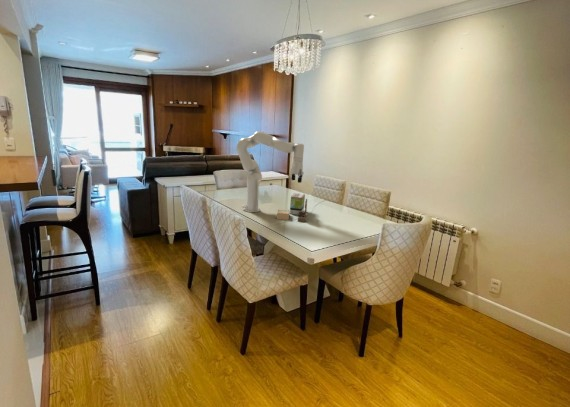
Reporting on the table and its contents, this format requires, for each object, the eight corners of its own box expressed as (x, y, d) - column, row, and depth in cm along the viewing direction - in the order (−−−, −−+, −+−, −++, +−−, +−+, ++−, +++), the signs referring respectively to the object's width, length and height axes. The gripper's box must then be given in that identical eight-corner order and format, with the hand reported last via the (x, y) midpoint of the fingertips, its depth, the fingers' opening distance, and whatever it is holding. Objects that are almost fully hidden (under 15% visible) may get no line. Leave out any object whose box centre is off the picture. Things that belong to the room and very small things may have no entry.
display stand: (297, 221, 232) (298, 203, 229) (298, 214, 250) (299, 198, 247) (305, 222, 232) (306, 204, 229) (306, 215, 250) (307, 198, 247)
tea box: (301, 215, 250) (302, 197, 247) (289, 213, 252) (290, 196, 249) (304, 210, 265) (305, 193, 261) (292, 209, 267) (293, 192, 263)
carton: (276, 219, 237) (277, 212, 235) (278, 214, 248) (278, 208, 247) (288, 220, 236) (288, 213, 235) (289, 215, 248) (289, 209, 247)
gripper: (288, 158, 244) (286, 179, 248) (299, 161, 230) (297, 183, 234) (296, 158, 248) (294, 179, 252) (308, 161, 233) (306, 183, 237)
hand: (296, 181), depth 243 cm, fingers open, 9 cm apart
